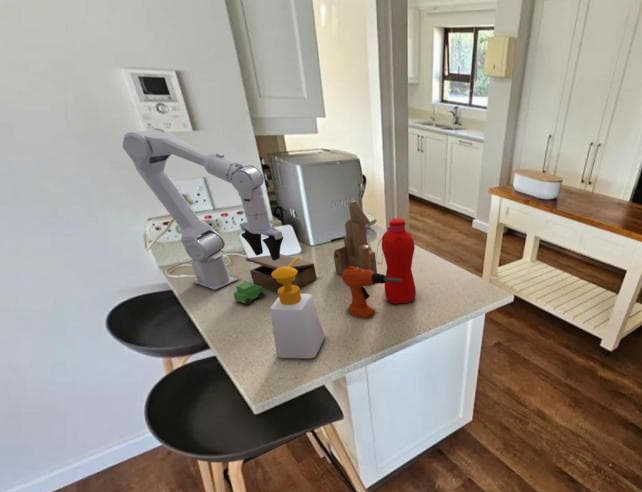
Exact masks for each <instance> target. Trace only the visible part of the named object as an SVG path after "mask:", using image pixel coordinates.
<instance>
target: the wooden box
mask: <svg viewBox="0 0 642 492" xmlns="http://www.w3.org/2000/svg"><path fill="white" fill-rule="evenodd" d="M274 270H276V269H272V268H269V267H266V266H262V265H259V266H257V267H255V268H252V269H250V270H249V272H250V276H251V279H252V284H255V285H258V286H261V287H263V288H265V289H269V290H271V291H275V292H277V293H278V289H279V288H280V287H283V286H284V285H283V283H279V282H277V280H276V279H275V278H273V277H272V276H271V274H272V272H273V271H274ZM296 270H297V271H298V273H297V275H295V280H294V281H292V282H291V285H296V286H298V287H299V289H301V288H303V287H305V286H307V285H309V284H310V283H312V282H314V281H315V280H317V272H316V267H315V265H314V266H310V267H304V268H298V269H296Z"/></svg>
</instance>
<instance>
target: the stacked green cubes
mask: <svg viewBox="0 0 642 492" xmlns="http://www.w3.org/2000/svg"><path fill="white" fill-rule="evenodd" d="M235 288H236V291H235V292H233V297H234V301H236V302H239V303H242V304H244V305H247V306H249V305H251V304H252V301H253V300H255V299H257V298H258V299H263V298H264V296H265V291H264V287H262V286H259V285H256V284H254V283H253V282H248V281H244V282H242V283H239V284H238V285H236V286H235Z"/></svg>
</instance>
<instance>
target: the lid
mask: <svg viewBox="0 0 642 492" xmlns="http://www.w3.org/2000/svg"><path fill="white" fill-rule="evenodd" d="M296 258H297V257H292V256H289V255H286V254H282V253H280V258H279V259H277V260H275V261H274V260H272V258H271V255H270V254H269V255H262V256H261V255H260V256H254V257H253V256H252V257H246V258H245V261H246V262H249V263H253V264H256V265H259V266H261V265H262V266H266V267H269V268H272V269H277V268H280V267H288V265H289V264H290V263H291V262H292V261H293V260H294V259H296ZM310 266H314V267H315V263H314V262H311V261H307V260H303V259H298V260H297V261H295V262H294V263H293V264H292V266H291V267H292V268H294V269H298V268H304V267H310Z"/></svg>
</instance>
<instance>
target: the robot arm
mask: <svg viewBox="0 0 642 492" xmlns="http://www.w3.org/2000/svg"><path fill="white" fill-rule="evenodd" d="M122 149H123V150H124V152H125V153H126V154H127V156H128V157H129V158H130V160H131V161H132V163H133V165H134V167H135V170H136V171H137V173H138V174H139V176H140V177H141V178H142V179H143V180H144V182H145V184H146V185H147V186H148V187H149V188H150V190H151V191H152V193H153V194H154V195H155V196H156V198H157V199H158V200H159V202H160V203H161V204H162V206H163V207H164V208H165V209H166V211H167V213H169V215H170V216H171V217H172V219H173V220H174V222H175V223H176V224H177V225H178V227H179V228H180V230H181V237H180V242H181V243H182V245H183V247H184V250H185V253H186V254H187V255H188V257H190V258H191V261H190V262H191V263H190V264H191V267H192V270H193V273H194V274H195V277H196V280H195V281H194V283H195V284H197V285H200V286H202V287H205V288H208V289H211V290H214V291H216V290H219V289H221V288H223V287H226V286H228V285H229V284H232V283H234V282H236V281H238V278H237V277H234V276H231V275H230V272H229V270H228V266H227V263H226V260H225V257H224V255H223V253H224V251H223V249H225V246H226V243H225V240H224V238H223V236H222V235H221V234H219V233H218V232H217V231H216V230H215V229H214V228H213V226H212V225H209V224H206V223H204V222H202V220H201V219H200V218H199V217H198V215H197V214H196V212H195V211H194V209H192V207H191V206H190V204H189V203H188V202H187V200H186V199H185V197H184V196H183V194H182V193H181V192H180V190H179V189H178V188H177V186H176V185H175V184H174V182H173V181H172V179H171V178H170V176H169V175H168V173H167V172H166V170H165V167H166V163H167V161H168V160H169V158H170V157H171V155H173V156H176V157H178V158H181V159H183V160H186V161H187V162H191V163H193V164H196V165H198V166H201V167H204V169H205V171H206V172H207V173H208V174H209V175H211V176H214V177H215V178H217V179H221V180H223V181H224V182H227V183H229V184H231V185H232V187H233V188H234V189H235V190H236V191H237V193H238V196H239V197H240V200H241V201H240V202H241V204H242V208H243V211H244V215H245V219H246V221H245V222H241V223H239V227H240V230H241V231H243V232H242V233H241V237H242V238H243V239H244V240H245V241H246V242H247V244H248V245H249V247H250V248H251V249H252V251H253V253H254V255H255V256H256V257H259V256H261V255H262V254H264V249H263V244H262V242H263V243H264V244H265V246H266V247H267V250H268V252H269V255H271V258H272V260H274V261H275V260H277V259H279V258H280V254H281V247H282V243H283V241H284V236H283V232H282V230H279V229H277V228H275V227H274V223H271V221H270V216H269V212H268V209H267V204H266V201H265V196H264V193H263V192H264V191H263V188H262V187H263V185H264V182H265V179H264V175H263V173H262V172H261V170H260V169H259V168H258V167H256V166H254V165H253V164H249V165H243V163H242V162H240V161H238V162H236V161H234V160H232V159H230V158H228V157H226V156H225V154H224V153H221V152H212V153H207V152H205V151H202V149H199V148H197V147H195V146H193V145H191V144H189V143H187V142H186V141H183V140H182V139H180V138H178V137H176V136H175V135H174V134H173V133H172V132H168V131H165V130H164V129H162V128H159V127H158V128H157V127H155V128H152V129H147V130H141V131H140V130H139V131H129V132H126V133H125V134H124V136H123V141H122ZM262 236H266V238H263V239H262Z"/></svg>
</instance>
